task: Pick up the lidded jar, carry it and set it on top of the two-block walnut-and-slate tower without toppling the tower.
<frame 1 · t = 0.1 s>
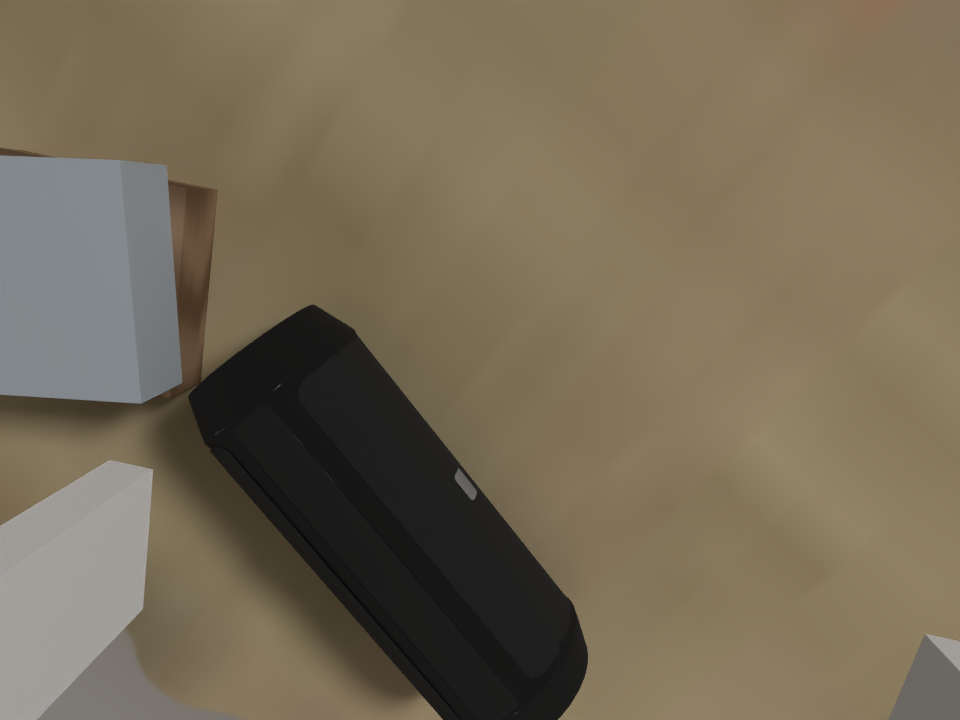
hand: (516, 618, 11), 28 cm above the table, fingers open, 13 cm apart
portable speaker: (414, 487, 41), on the table
tower top: (71, 273, 36), point 3 cm above the table, touching tower base
tower base: (119, 269, 39), on the table, touching tower top
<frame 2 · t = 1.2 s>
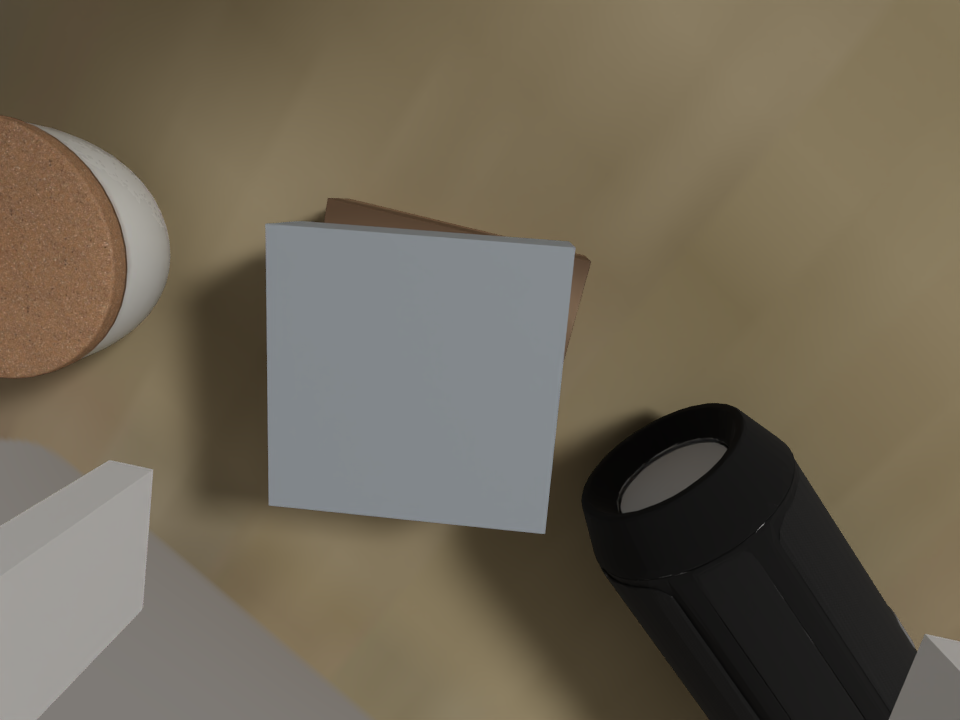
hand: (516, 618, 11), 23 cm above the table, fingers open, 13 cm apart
portable speaker: (760, 600, 35), on the table
lidded jar: (111, 240, 33), on the table
tower top: (427, 361, 30), point 3 cm above the table, touching tower base
tower base: (442, 339, 33), on the table, touching tower top
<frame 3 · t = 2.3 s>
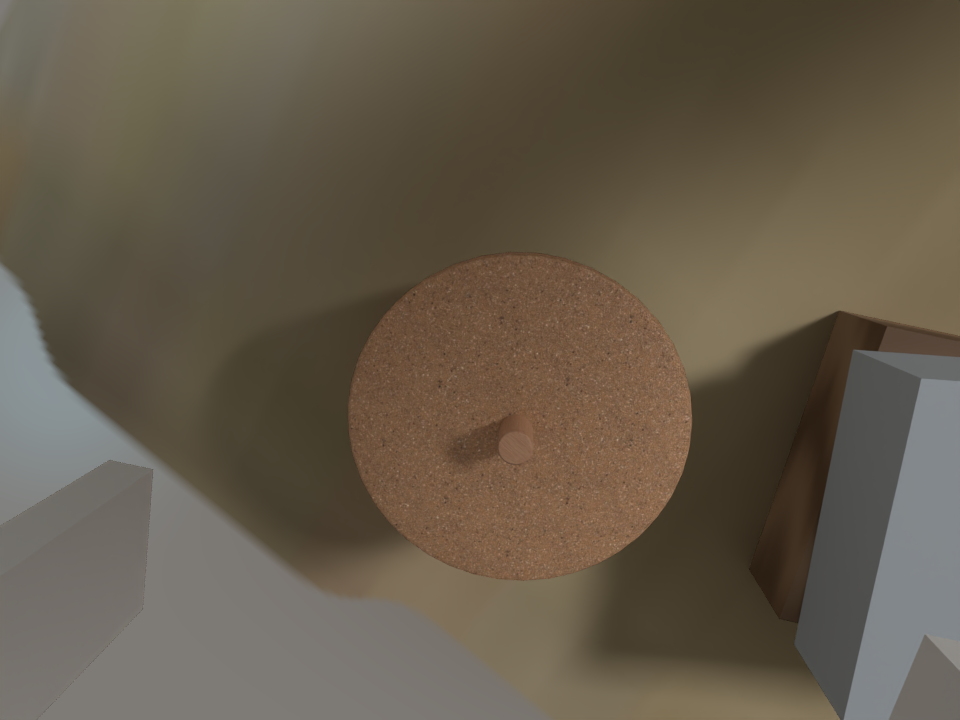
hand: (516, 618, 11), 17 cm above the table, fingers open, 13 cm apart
lidded jar: (519, 366, 27), on the table
tower base: (925, 472, 27), on the table, touching tower top
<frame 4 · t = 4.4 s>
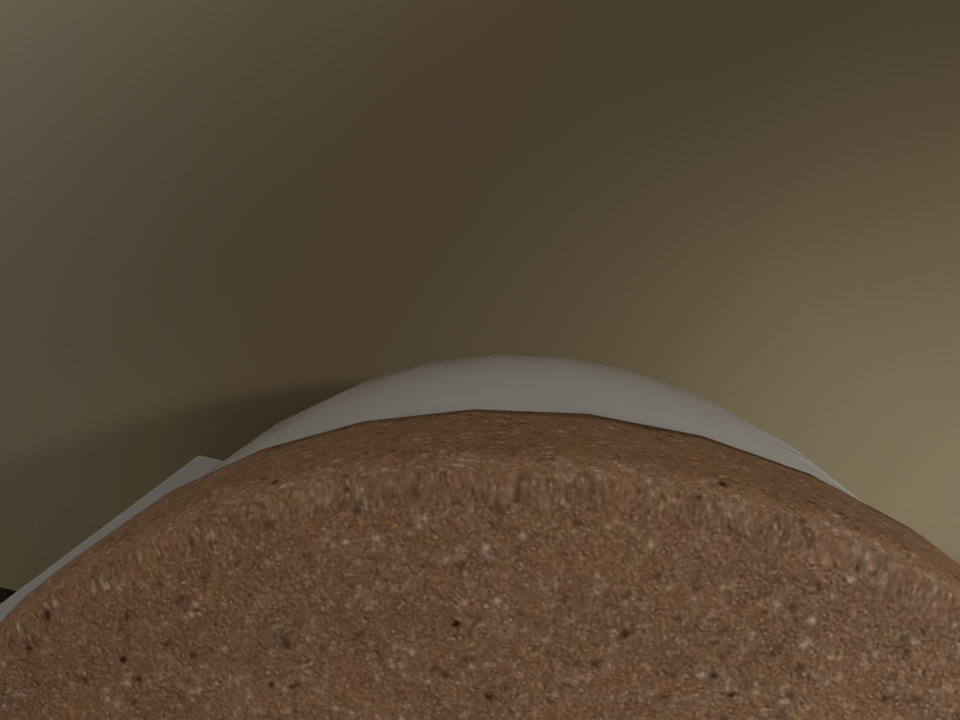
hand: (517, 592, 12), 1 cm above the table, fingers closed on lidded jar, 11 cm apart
lidded jar: (519, 556, 13), on the table, touching gripper
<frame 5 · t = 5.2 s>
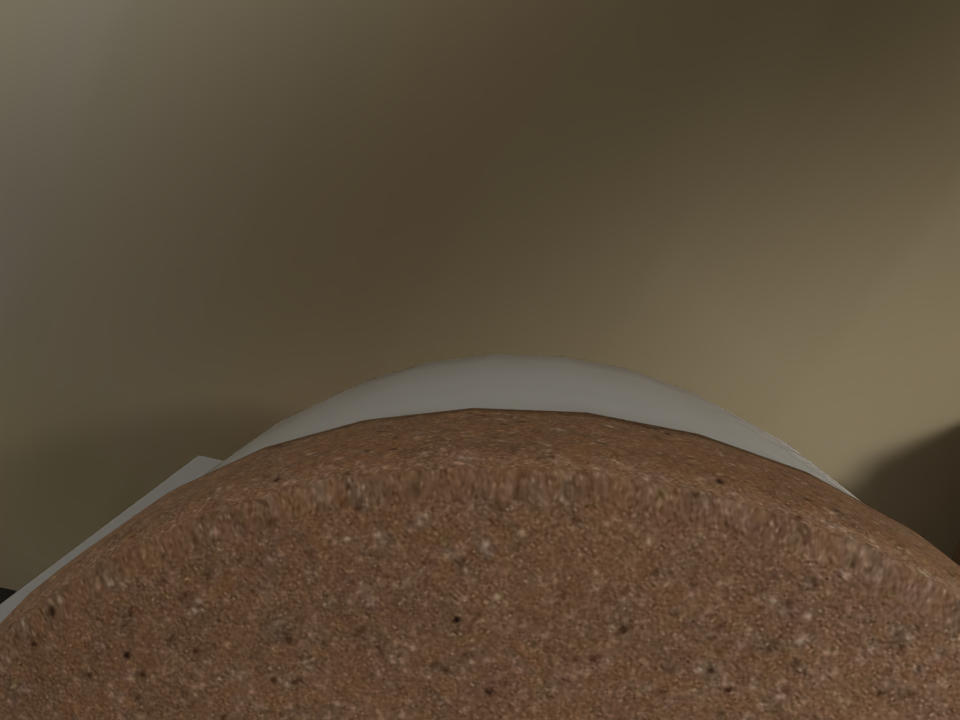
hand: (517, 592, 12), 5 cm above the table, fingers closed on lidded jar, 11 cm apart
lidded jar: (519, 555, 13), point 4 cm above the table, touching gripper
when the fingers open (10 cm above the table, at t = 8.6 s): lidded jar drops 2 cm, resting on tower top.
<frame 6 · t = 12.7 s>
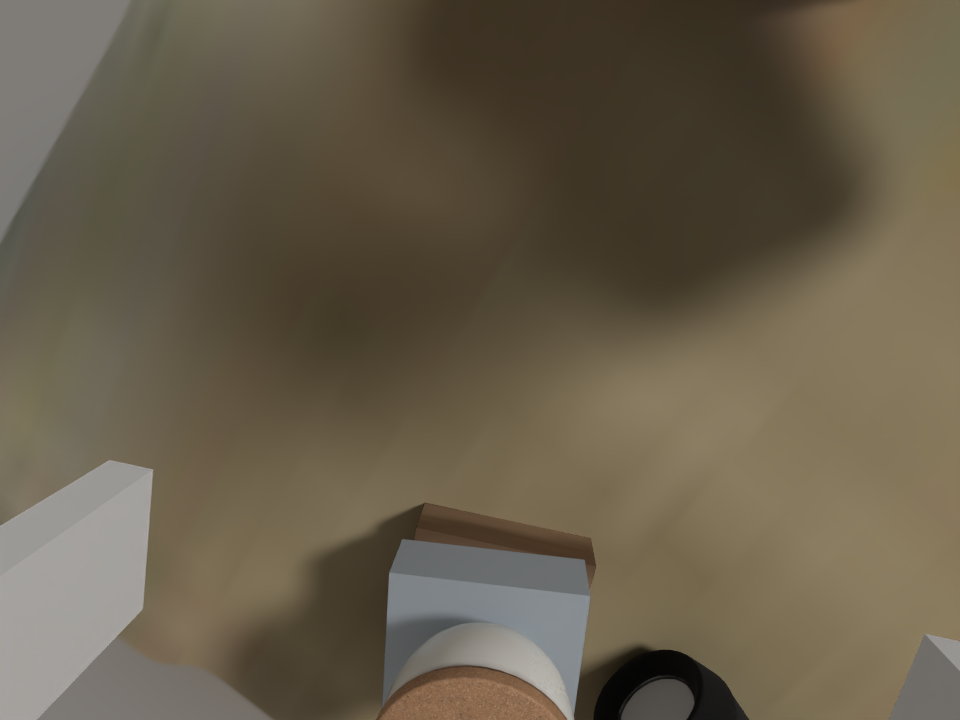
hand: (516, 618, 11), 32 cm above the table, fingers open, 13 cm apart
lidded jar: (487, 665, 39), point 8 cm above the table, touching tower top
tower top: (485, 628, 43), point 4 cm above the table, touching tower base, lidded jar
tower base: (491, 590, 47), on the table, touching tower top
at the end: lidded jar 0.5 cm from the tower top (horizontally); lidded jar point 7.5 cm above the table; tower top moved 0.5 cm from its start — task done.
